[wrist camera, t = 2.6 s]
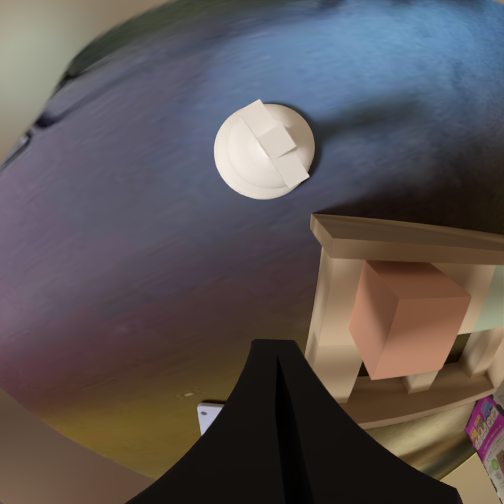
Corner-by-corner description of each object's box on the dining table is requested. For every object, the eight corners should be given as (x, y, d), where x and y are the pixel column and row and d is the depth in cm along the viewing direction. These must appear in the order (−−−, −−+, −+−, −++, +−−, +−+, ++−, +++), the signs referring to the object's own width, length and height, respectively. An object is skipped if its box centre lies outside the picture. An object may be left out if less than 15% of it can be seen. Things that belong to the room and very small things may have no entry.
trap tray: (473, 363, 19) (495, 392, 14) (287, 387, 19) (292, 435, 15) (519, 237, 15) (555, 256, 10) (311, 213, 15) (333, 238, 10)
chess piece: (277, 88, 12) (315, -23, 3) (328, 167, 14) (449, 200, 4) (196, 138, 13) (84, 116, 4) (248, 216, 15) (233, 330, 5)
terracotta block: (409, 325, 14) (441, 369, 10) (348, 329, 14) (371, 380, 10) (428, 261, 13) (472, 296, 9) (363, 259, 13) (399, 299, 9)
